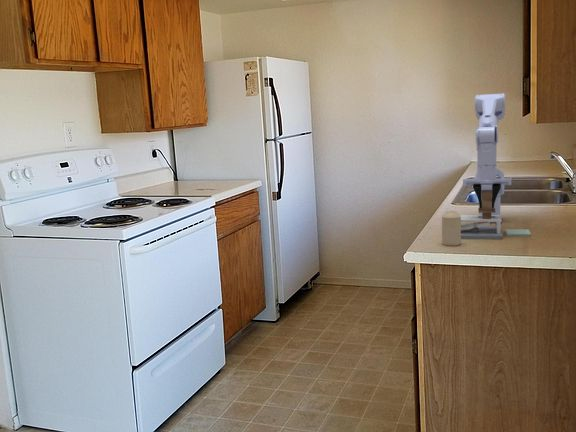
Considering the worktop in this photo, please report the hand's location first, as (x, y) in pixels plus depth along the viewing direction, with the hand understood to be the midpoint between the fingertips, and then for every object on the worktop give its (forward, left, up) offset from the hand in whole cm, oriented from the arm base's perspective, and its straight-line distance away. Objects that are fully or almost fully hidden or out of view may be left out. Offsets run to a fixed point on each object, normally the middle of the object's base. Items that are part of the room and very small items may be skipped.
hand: (486, 207), depth 193 cm
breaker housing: (0, -3, -9) cm, 9 cm away
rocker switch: (0, -3, -6) cm, 7 cm away
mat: (-1, +10, -9) cm, 13 cm away
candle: (+14, -10, -9) cm, 20 cm away
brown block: (0, 0, -4) cm, 4 cm away
